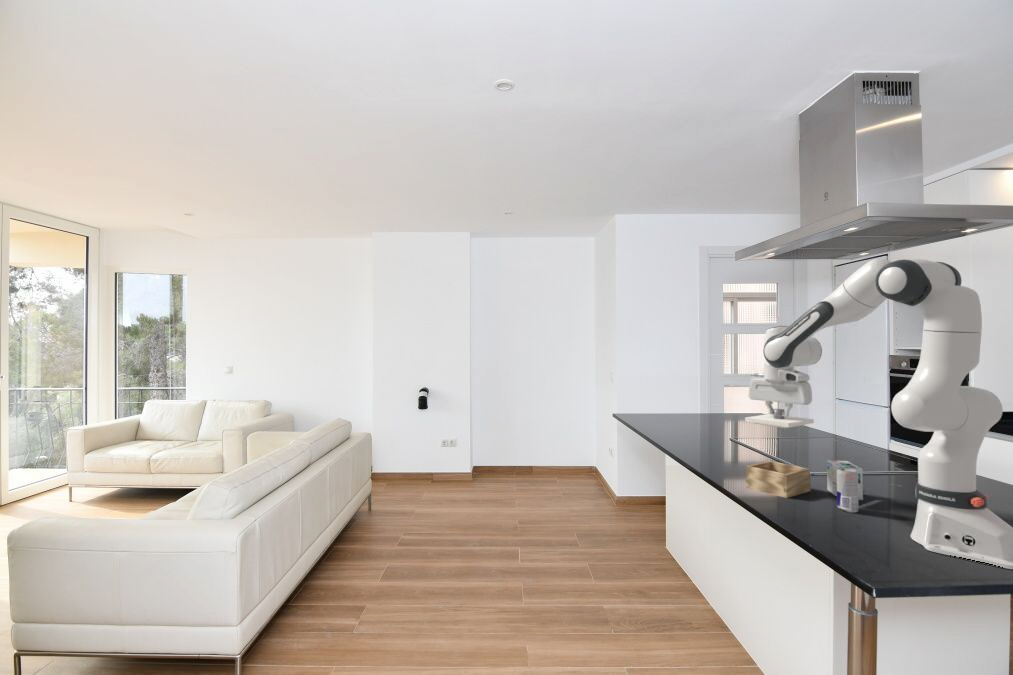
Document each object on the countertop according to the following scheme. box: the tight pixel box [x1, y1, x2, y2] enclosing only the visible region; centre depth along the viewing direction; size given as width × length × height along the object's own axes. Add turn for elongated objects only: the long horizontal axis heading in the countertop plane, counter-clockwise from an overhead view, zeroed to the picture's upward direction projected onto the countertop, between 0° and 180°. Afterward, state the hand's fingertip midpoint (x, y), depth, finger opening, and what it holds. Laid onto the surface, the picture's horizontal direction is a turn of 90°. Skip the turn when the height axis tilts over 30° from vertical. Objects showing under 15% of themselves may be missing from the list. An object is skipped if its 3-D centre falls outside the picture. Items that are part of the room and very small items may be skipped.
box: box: [745, 460, 812, 499], centre depth 175 cm, size 14×14×8 cm
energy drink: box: [836, 468, 859, 514], centre depth 156 cm, size 5×5×12 cm
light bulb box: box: [826, 459, 864, 501], centre depth 169 cm, size 11×7×11 cm, turn 168°
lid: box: [744, 408, 815, 429], centre depth 176 cm, size 15×15×5 cm
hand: (778, 415), depth 176 cm, fingers closed on lid, 3 cm apart
